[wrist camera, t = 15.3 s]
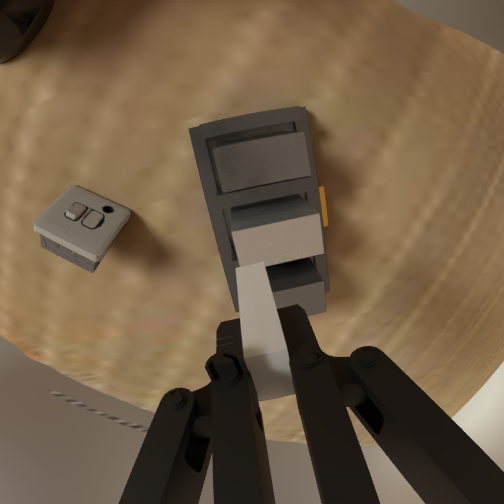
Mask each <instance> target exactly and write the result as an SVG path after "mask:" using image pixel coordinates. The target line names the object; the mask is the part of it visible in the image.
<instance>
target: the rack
mask: <svg viewBox="0 0 504 504" xmlns="http://www.w3.org/2000/svg"><path fill="white" fill-rule="evenodd" d="M189 133H190V137H191V141H192V145H193V150H194V154H195V158H196V162H197V167H198V171H199V175H200V179H201V183H202V187H203V191H204V195H205V199H206V203H207V207H208V211H209V215H210V219H211V223H212V226H213V230H214V234H215V238H216V242H217V245H218V249H219V253H220V257H221V260H222V264H223V268H224V271H225V275H226V279H227V282H228V286H229V290H230V293H231V297H232V300H233V304H234V307H235V311H236V312H239V301H238V290H237V278H236V268H237V267H240V265H239V261H238V257H237V253H236V249H235V245H234V241H233V237H232V233H231V209H230V208H231V207H235V206H240V205H244V204H249V203H254V202H259V201H263V200H268V199H273V198H278V197H283V196H288V195H293V194H300V195H301V196H302V197H303V198H304V199H305V200H306V201H307V202H308V203H309V204H310V205H311V206H312V207H313V208H314V209H315V210H316V211H317V212H318V213H319V214H320V222H321V231H322V239H323V248H324V253H323V254H319V255H314V256H310V257H306V258H301V259H297V260H292V261H288V262H283V263H279V264H274V265H270V266H265V269H266V272H267V276H268V279H269V283H270V287H271V290H272V294H273V298H274V301H275V305H276V309H279V308H283V307H288V306H292V305H296V304H298V305H299V306H301V307H302V308H303V309H304V310H305V312H306V314H307V316H309V315H313V314H317V313H322V312H326V304H325V292H329V279H328V267H327V256H326V245H325V236H324V227H325V226H328V218H327V209H326V201H325V193H324V186H323V185H321V184H318V179H317V172H316V165H315V159H314V153H313V146H312V140H311V135H310V129H309V123H308V118H307V112H306V107H299V106H296V107H289V108H282V109H275V110H269V111H263V112H257V113H252V114H247V115H241V116H236V117H232V118H227V119H222V120H218V121H213V122H209V123H205V124H201V125H199V126H197V127H193V128H190V129H189Z"/></svg>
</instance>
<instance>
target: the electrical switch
mask: <svg viewBox="0 0 504 504" xmlns="http://www.w3.org/2000/svg"><path fill="white" fill-rule="evenodd" d="M129 218H130V210H129V209H127V208H125V207H123V206H121V205H119V204H116V203H114V202H112V201H110V200H107V199H105V198H103V197H101V196H99V195H96V194H94V193H92V192H90V191H88V190H86V189H83V188H81V187H79V186H77V185H71V186H70V187H68V188H67V189H66V190H65V191H64V192H63V193H62V194H61V195H60V196H59V197H58V198H57V199H56V200H55V201H54V202H52V203H51V204H50V205H49V206H48V207H47V208H46V209H45V210H44V211H43V212H42V213H41V214H40V215H39V216H38V217H37V218H36V219H35V221H34V231H36V232H38V233H40V237H41V247H43V248H45V249H47V250H49V251H51V252H52V253H54V254H56V255H58V256H60V257H62V258H64V259H66V260H68V261H70V262H72V263H74V264H76V265H78V266H80V267H82V268H84V269H86V270H88V271H90V272H92V273H93V271H95V270H96V268H97V267H98V265H99V263H100V262H101V261H102V259H103V258H104V256H105V254H106V253H107V250H108V249H109V247H110V246H111V244H112V243H113V241H114V240H115V238H116V237H117V235H118V234H119V231H120V229H121V228H122V227H123V225H124V224H125V223H127V221H128V220H129ZM60 246H61V247H60ZM72 252H73V253H72Z"/></svg>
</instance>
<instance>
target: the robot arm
mask: <svg viewBox="0 0 504 504" xmlns="http://www.w3.org/2000/svg"><path fill="white" fill-rule="evenodd" d="M53 3H54V0H0V63H3V62H6V61H8V60H10V59H12V58H14V57H15V56H16V55H18V54H19V53H20V52H21V51H23V50H24V49H25V48H26V47H27V46H28V45H29V44H30V42H31V41H32V40H33V39H34V38H35V36H36V35H37V34H38V32H39V31H40V29H41V28H42V26H43V25H44V23H45V21H46V20H47V18H48V16H49V14H50V11H51V9H52V6H53ZM236 278H237V290H238V301H239V312H240V318H238V319H234V320H229V321H224V322H221V323H220V325H219V327H218V329H217V340H216V345H217V347H216V354H214V355H213V356H211V357H210V358H209V359H208V360H207V362H206V365H205V369H206V371H207V373H208V375H209V377H210V379H211V382H210V383H209V384H208V385H206V386H205V387H203V388H200V389H198V390H196V391H193V392H191V391H190V390H188V389H186V388H175V389H173V390H170V391H169V392H167V393H166V394H165V395H164V396H163V398H162V399H161V401H160V404H159V406H158V408H157V411H156V413H155V415H154V418H153V421H152V423H151V425H150V427H149V430H148V432H147V435H146V437H145V439H144V442H143V444H142V447H141V449H140V452H139V454H138V457H137V459H136V461H135V464H134V467H133V469H132V471H131V474H130V476H129V479H128V481H127V484H126V486H125V489H124V492H123V494H122V496H121V499H120V502H119V504H198V503H199V499H200V495H201V492H202V488H203V484H204V480H205V477H206V473H207V469H208V466H209V462H210V458H211V454H212V455H213V489H214V504H275V498H274V492H273V485H272V479H271V472H270V466H269V459H268V453H267V446H266V439H265V433H264V426H263V419H262V413H261V410H260V407H259V402H260V401H265V400H270V399H274V398H279V397H284V396H288V395H292V394H296V398H297V404H298V409H299V414H300V416H301V420H302V424H303V428H304V432H305V437H306V441H307V445H308V448H309V453H310V457H311V461H312V465H313V470H314V474H315V478H316V482H317V486H318V490H319V495H320V499H321V503H322V504H380V502H379V499H378V496H377V493H376V490H375V487H374V484H373V481H372V478H371V475H370V472H369V469H368V467H367V464H366V461H365V458H364V455H363V453H362V450H361V447H360V444H359V441H358V439H357V436H356V433H355V430H354V428H353V425H352V422H351V420H350V417H349V414H348V412H347V409H346V407H350V409H351V410H352V411H353V413H354V414H355V415H356V417H357V418H358V419H359V420H360V422H361V423H362V424H363V426H364V427H365V428H366V429H367V431H368V432H369V433H370V435H371V436H372V437H373V438H374V440H375V441H376V442H377V444H378V445H379V446H380V447H381V448H382V450H383V451H384V452H385V454H386V455H387V456H388V457H389V459H390V460H391V461H392V463H393V464H394V465H395V466H396V468H397V469H398V470H399V471H400V473H401V474H402V475H403V476H404V478H405V479H406V480H407V481H408V483H409V484H410V485H411V486H412V488H413V489H414V490H415V491H416V493H417V494H418V495H419V496H420V498H421V499H422V500H423V501H424V503H425V504H504V472H503V471H502V470H501V469H500V468H499V467H498V466H497V465H496V464H495V462H494V461H493V460H491V458H490V457H489V456H488V455H487V454H486V453H485V452H484V451H483V450H482V449H481V448H480V447H479V446H478V445H477V444H476V443H475V442H474V441H473V440H472V439H471V438H470V437H469V436H468V435H467V434H466V433H465V432H464V431H463V430H462V429H461V428H460V427H459V426H458V425H457V424H456V423H455V422H454V421H453V420H452V419H451V418H450V417H449V416H448V415H447V414H446V413H445V412H444V411H443V410H442V409H441V408H440V407H439V406H438V405H437V404H436V403H435V402H434V401H433V400H432V399H431V398H430V397H429V396H428V395H427V394H426V393H425V392H424V391H423V390H422V389H421V388H420V387H419V386H418V385H417V384H416V383H415V382H414V381H413V380H412V379H411V378H410V377H409V376H407V375H406V374H405V373H404V372H403V371H402V370H401V369H400V368H399V367H398V366H397V365H396V364H395V363H394V362H393V361H392V360H391V359H390V358H389V357H388V356H387V355H386V354H385V353H384V352H383V351H381V350H380V349H378V348H376V347H372V346H363V347H361V348H358V349H356V350H355V351H353V352H352V354H351V355H350V357H333V356H329V355H327V354H325V353H324V352H323V351H322V350H321V349H320V347H319V344H318V342H317V339H316V337H315V334H314V332H313V329H312V327H311V325H310V322H309V319H308V317H307V314H306V312H305V310H304V309H303V308H302V307H301V306H299V305H298V304H296V305H292V306H288V307H283V308H279V309H276V305H275V301H274V298H273V294H272V290H271V287H270V283H269V279H268V276H267V272H266V269H265V265H264V261H263V262H259V263H255V264H250V265H246V266H242V267H237V268H236ZM258 399H259V402H258Z"/></svg>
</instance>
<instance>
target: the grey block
mask: <svg viewBox="0 0 504 504" xmlns="http://www.w3.org/2000/svg"><path fill="white" fill-rule="evenodd" d="M230 209H231V233H232V237H233V241H234V245H235V249H236V253H237V257H238V261H239V265H240V267H242V266H246V265H250V264H255V263H259V262H263V261H264V265H265V266H270V265H274V264H279V263H283V262H288V261H292V260H297V259H301V258H306V257H310V256H314V255H319V254H323V253H324V248H323V239H322V231H321V222H320V214H319V213H318V212H317V211H316V210H315V209H314V208H313V207H312V206H311V205H310V204H309V203H308V202H307V201H306V200H305V199H304V198H303V197H302V196H301V195H300V194H293V195H288V196H283V197H278V198H273V199H268V200H263V201H259V202H254V203H249V204H244V205H240V206H235V207H231V208H230Z"/></svg>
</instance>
